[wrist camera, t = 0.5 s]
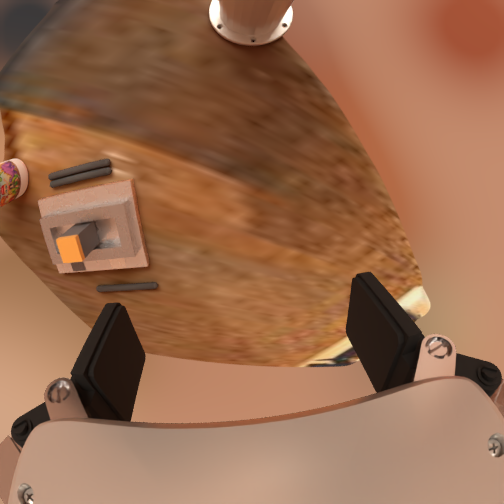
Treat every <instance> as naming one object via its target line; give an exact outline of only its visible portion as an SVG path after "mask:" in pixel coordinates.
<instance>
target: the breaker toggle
mask: <svg viewBox="0 0 504 504" xmlns="http://www.w3.org/2000/svg"><path fill="white" fill-rule="evenodd" d="M56 242H57V245H58V249H59V252H60V255H61V258H62V261H63V263H72V262H82V261H83V260H84V259H85V258H86V257H87V256H88V255H89V253H90V252H91V251H92V250H93V249H94V248H95V247H96V246H97V245H98V243H99V238H98V235H97V231H96V227H95V223H94V221H89V222H82V223H76V224H74V225H73V226H72V227H71V228H70V229H68V230H67V231H66V232H65V233H64V234H62V235H61V236H60V237H59V238H58V239H56Z"/></svg>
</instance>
